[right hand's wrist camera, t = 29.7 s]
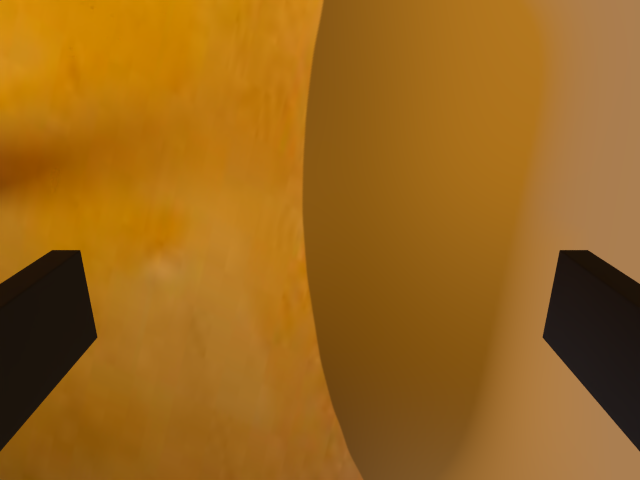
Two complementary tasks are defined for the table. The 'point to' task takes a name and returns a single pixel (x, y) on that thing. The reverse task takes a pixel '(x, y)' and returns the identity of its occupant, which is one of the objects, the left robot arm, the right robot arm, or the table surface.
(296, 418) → the table surface
